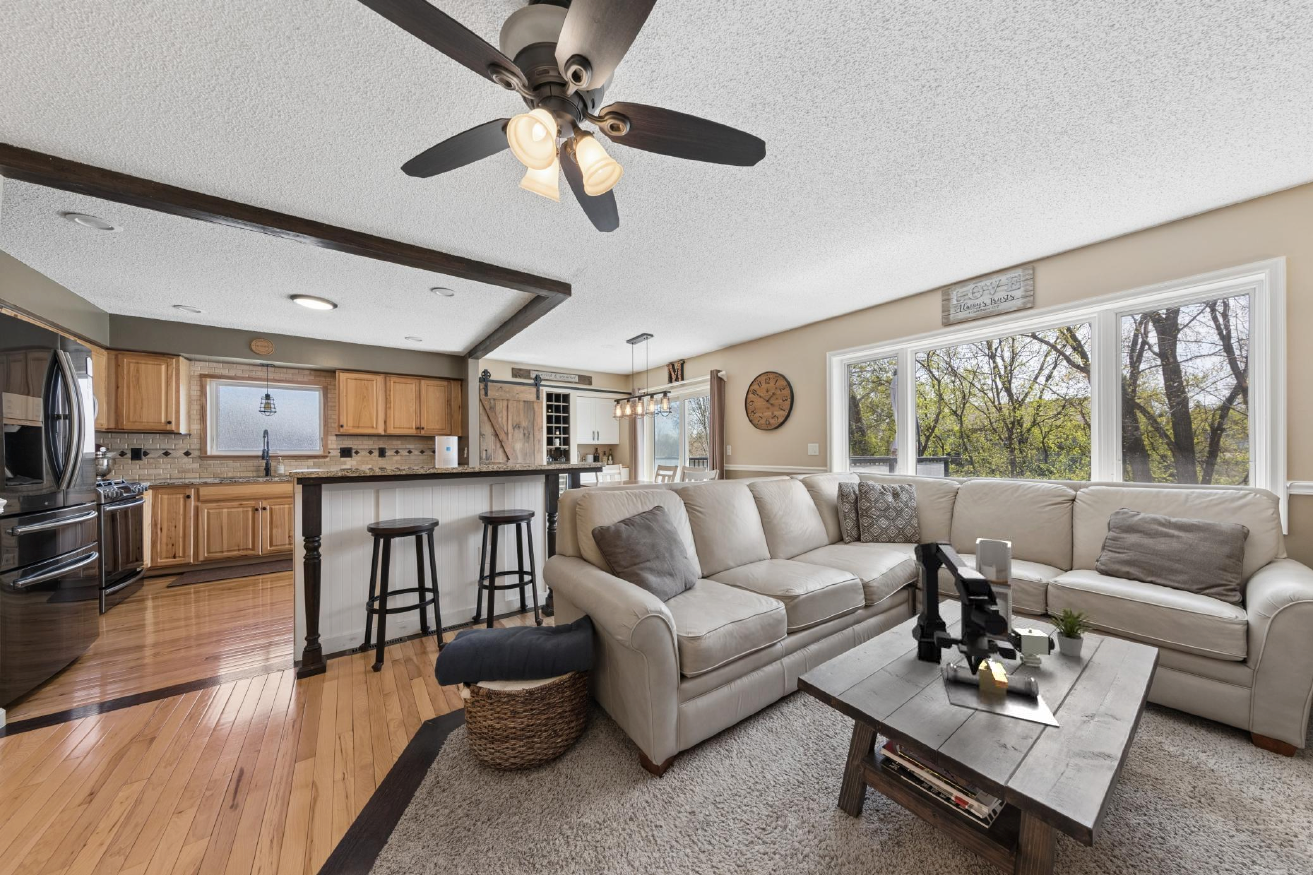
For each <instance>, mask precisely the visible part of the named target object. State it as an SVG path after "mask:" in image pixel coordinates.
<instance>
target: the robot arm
mask: <svg viewBox="0 0 1313 875" xmlns="http://www.w3.org/2000/svg"><path fill="white" fill-rule="evenodd" d="M913 551H914V556H915V560H916V562H917V563H918V565H919V567H920V568H921V595H922V596H921V600H922V601H921V602H922V604H921V605H922V610H921V612H920V613H919V614H918V616H917V619H916V621H917V622H916V625H915V626H914V627H913V628H912V630H911V636H912V638H913V639H914V640H916V642H917V651H916V655H917V660H918V661H922V662H928V663H932V664H936V665H937V664H938V665H940V664H941V661H942V656H943V655H942V652H943V651H942V649H946V650H950V649H952V648H953V646H956V648H957V650H958V652H959V653H960V654H961V655H963V656H964V657H965V659H966V661H967V665H968V667H969V668H970V670H971V673H972V675H976V673H977V671H978V669H979V667H980V665H981V663H982V662H983V661H984V659H986V658H992V656H991V655H997V654H998V655H999V656H1000V657H1001V659H1005V660H1011V661H1017V650H1015V649H1014V647H1013V646H1012V644H1011V643H1010V642H1008V641H1005V640H998V639H991V638H990V637H988V636H986V631H987V632H988V633H990V634H992V635H995V636H998V635H1001V634H1003V633H1005V631H1006V630H1007V627H1008V623H1007V622H1006V619H1005V618H1004V617H1003V616H1001V615H1000V614H999V610H998V609H997V608H994V607H992V606H998V604H997V601H996V600H997V598H996V596H995V594H994V592H993V590H992V588H991V586H990V583H989V582H988V580H987V579H986V578H985V577H984V576H982V575H981V574H980V573H979V572H976V570H974V569H971V567H969V566H968V564H967V563H966V562H965V561H964V560H963V559H962V558H961V556H959V554H958V553H957V552H956V550H954V549H953V546H952V544H951V542H948V541H945V540H944V541H936V540H935V541H932V542H930V543H929V542H928V543H924V542H923V543H922V542H919V543H917V545H915V546H914V550H913ZM943 565H944V566H945V568H947V570H948V571H949V573H950V574H951V576H953V578H954V583H953V584H954V586H955V588H956V591H957V593H958V594H959V595H958V596H957V599H959V600H960V611H961V612H960V621H961V622H960V624H961V625H960V633H961V635H960V636H961V638H959V637H952V636H951V633H950V632H948V630H947V622H946V621H945V620H944V619H943V618H942V616H941V615H940V599H939V598H940V596H939V591H940V590H939V588H940V587H939V570H941V567H942V566H943ZM980 597H987V598H980Z"/></svg>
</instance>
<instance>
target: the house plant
mask: <svg viewBox="0 0 1313 875" xmlns="http://www.w3.org/2000/svg"><path fill="white" fill-rule="evenodd" d="M1067 607H1068V608H1067ZM1067 607H1066V606H1062V617H1063V618H1062V619H1063V622H1062V620H1061V619H1060V617H1059V616H1058V615H1057V614H1056V613H1055V611H1053V610H1052V609H1050V608H1049V607H1046V606H1045V608H1046V609H1048V610H1049V611H1050V612H1051V613H1052V614H1053V615H1054V616H1055V617H1056V618H1057V620H1056V619H1055V618H1053V617H1051V619H1052V621H1053V622H1052V621H1048V622H1047V623H1049V624H1050V625H1052V626H1054V627H1055V628H1057V629H1058V631H1056V637H1057V641H1058V648H1059V652H1060V653H1062V654H1064V655H1067V656H1070V657H1078V658H1079V657H1080V656H1081V654H1082V648H1083V644H1084V639H1085V638H1084V637H1083V636H1082V635H1085V633H1086V631H1088V630H1091V631H1092V632H1093V631H1094V630H1093V627H1087V626H1084V625H1085V624H1087V623H1089V622H1094V620H1092V619H1091V620H1089V619H1088V618H1092V617H1095V615H1090V614H1089V615H1087V616H1084V617H1083V618H1081V617H1082V616H1083V615H1084V612H1085V609H1084V610H1081V611H1079V612H1078V613H1077V615H1076V614H1075V613H1073V610H1072V608H1071V607H1070V606H1069V605H1067ZM1099 617H1100V618H1101V616H1099ZM1058 621H1059V622H1058ZM1083 621H1085V622H1083ZM1081 622H1083V623H1082V624H1081V625H1080V623H1081ZM1079 625H1080V626H1079ZM1078 626H1079V627H1078ZM1083 629H1084V630H1083ZM1094 629H1096V630H1097V629H1098V628H1096V627H1094Z"/></svg>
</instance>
